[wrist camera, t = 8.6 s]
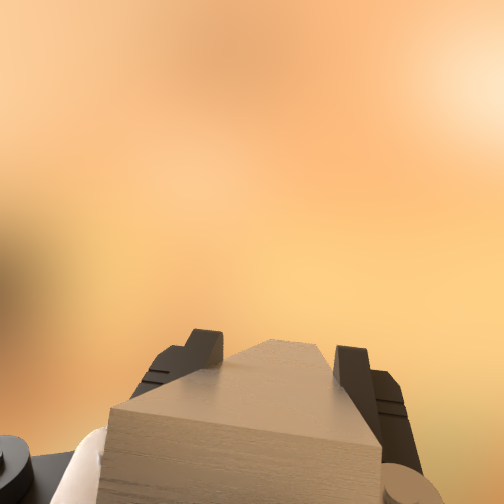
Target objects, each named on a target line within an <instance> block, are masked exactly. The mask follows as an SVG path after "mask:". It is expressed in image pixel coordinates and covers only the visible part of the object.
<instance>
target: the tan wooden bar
mask: <svg viewBox="0 0 504 504" xmlns="http://www.w3.org/2000/svg"><path fill="white" fill-rule="evenodd" d="M381 458H382V446H381V445H380V443H379V442H378V440H377V439H376V437H375V436H374V434H373V432H372V431H371V429H370V428H369V426H368V425H367V423H366V422H365V420H364V419H363V417H362V415H361V414H360V412H359V411H358V409H357V408H356V406H355V405H354V403H353V402H352V400H351V399H350V397H349V395H348V394H347V392H346V391H345V389H344V388H343V387H340V386H339V384H338V382H337V381H336V379H335V377H334V376H333V371H332V369H331V368H330V366H329V365H328V363H327V361H326V360H325V358H324V357H323V355H322V354H321V352H320V351H319V349H318V348H317V346H316V345H315V344H307V343H299V342H290V341H282V340H273V339H270V340H267V341H265V342H263V343H260V344H258V345H256V346H254V347H251V348H249V349H247V350H244V351H242V352H240V353H237V354H235V355H233V356H230V357H228V358H226V359H223V361H221V362H219V363H217V364H215V365H212V366H210V367H208V368H206V369H200V370H198V371H195V372H193V373H191V374H188V375H186V376H184V377H181V378H179V379H177V380H174V381H172V382H170V383H167V384H165V385H163V386H160V387H158V388H156V389H153V390H151V391H149V392H146V393H144V394H142V395H139V396H137V397H135V398H132V399H130V400H128V401H125V402H123V403H121V404H118V405H116V406H114V407H111V408H110V414H109V420H108V427H107V433H106V440H105V446H104V453H103V459H102V466H101V472H100V479H99V485H98V492H97V498H96V504H379V494H380V476H381Z"/></svg>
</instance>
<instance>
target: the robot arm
mask: <svg viewBox="0 0 504 504" xmlns="http://www.w3.org/2000/svg"><path fill="white" fill-rule="evenodd" d="M221 361H223V333H222V332H220V331H211V330H202V329H194V330H193V331H192V333H191V335H190V337H189V338H188V340H187V342H186V344H185V346H184V347H183V346H175V345H172V346H170V347H169V348H168V349H166V350H165V351H163V352H162V353H160V354H159V355H158V356H157V357H156V358H155V360H154V361H153V363H152V365H151V366H150V368H149V371H148V372H146V374H145V376H144V377H143V379H142V382H141V383H139V385H138V387H137V388H136V390H135V392H134V393H133V394H132V396H131V398H130V399H132V398H135V397H137V396H139V395H142V394H144V393H146V392H149V391H151V390H153V389H156V388H158V387H160V386H163V385H165V384H167V383H170V382H172V381H174V380H177V379H179V378H181V377H184V376H186V375H188V374H191V373H193V372H195V371H198V370H200V369H206V368H208V367H210V366H212V365H215V364H217V363H219V362H221ZM334 361H335V362H334V369H333V376H334V377H335V379H336V381H337V382H338V384H339V386H340V387H343V388H344V389H345V391H346V392H347V394H348V395H349V397H350V399H351V400H352V402H353V403H354V405H355V406H356V408H357V409H358V411H359V412H360V414H361V415H362V417H363V419H364V420H365V422H366V423H367V425H368V426H369V428H370V429H371V431H372V432H373V434H374V436H375V437H376V439H377V440H378V442H379V443H380V445H381V446H382V458H381V476H380V494H379V504H444V503H443V500H442V498H441V496H440V494H439V492H438V491H437V489H436V488H435V487H434V486H433V484H432V483H431V482H430V481H429V480H427V479H426V478H425V477H424V475H423V472H422V468H421V464H420V460H419V457H418V453H417V450H416V445H415V442H414V438H413V434H412V430H411V426H410V423H409V420H408V416H407V411H406V407H405V406H404V400H403V396H402V392H401V389H400V386H399V385H398V383H397V382H396V381H395V380H394V379H393V377H392V376H391V375H390V374H389V373H388V372H387V371H379V370H371V369H370V365H369V359H368V353H367V349H366V348H356V347H348V346H339V345H337V347H336V353H335V360H334ZM130 399H129V400H130ZM107 427H108V425H107V426H104V427H102V428H99V429H97V430H95V431H93V432H92V433H90V434H89V435H88V436H87V437H85V438H84V439H83V440H82V441H81V443H80V444H79V445H78V447H77V448H76V450H75V451H71V452H65V453H58V454H49V455H40V456H32V457H30V452H29V447H28V445H27V443H26V442H25V441H24V440H23V439H21V438H19V437H16V436H11V435H0V504H96V498H97V492H98V485H99V479H100V472H101V466H102V459H103V453H104V446H105V440H106V433H107Z"/></svg>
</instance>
